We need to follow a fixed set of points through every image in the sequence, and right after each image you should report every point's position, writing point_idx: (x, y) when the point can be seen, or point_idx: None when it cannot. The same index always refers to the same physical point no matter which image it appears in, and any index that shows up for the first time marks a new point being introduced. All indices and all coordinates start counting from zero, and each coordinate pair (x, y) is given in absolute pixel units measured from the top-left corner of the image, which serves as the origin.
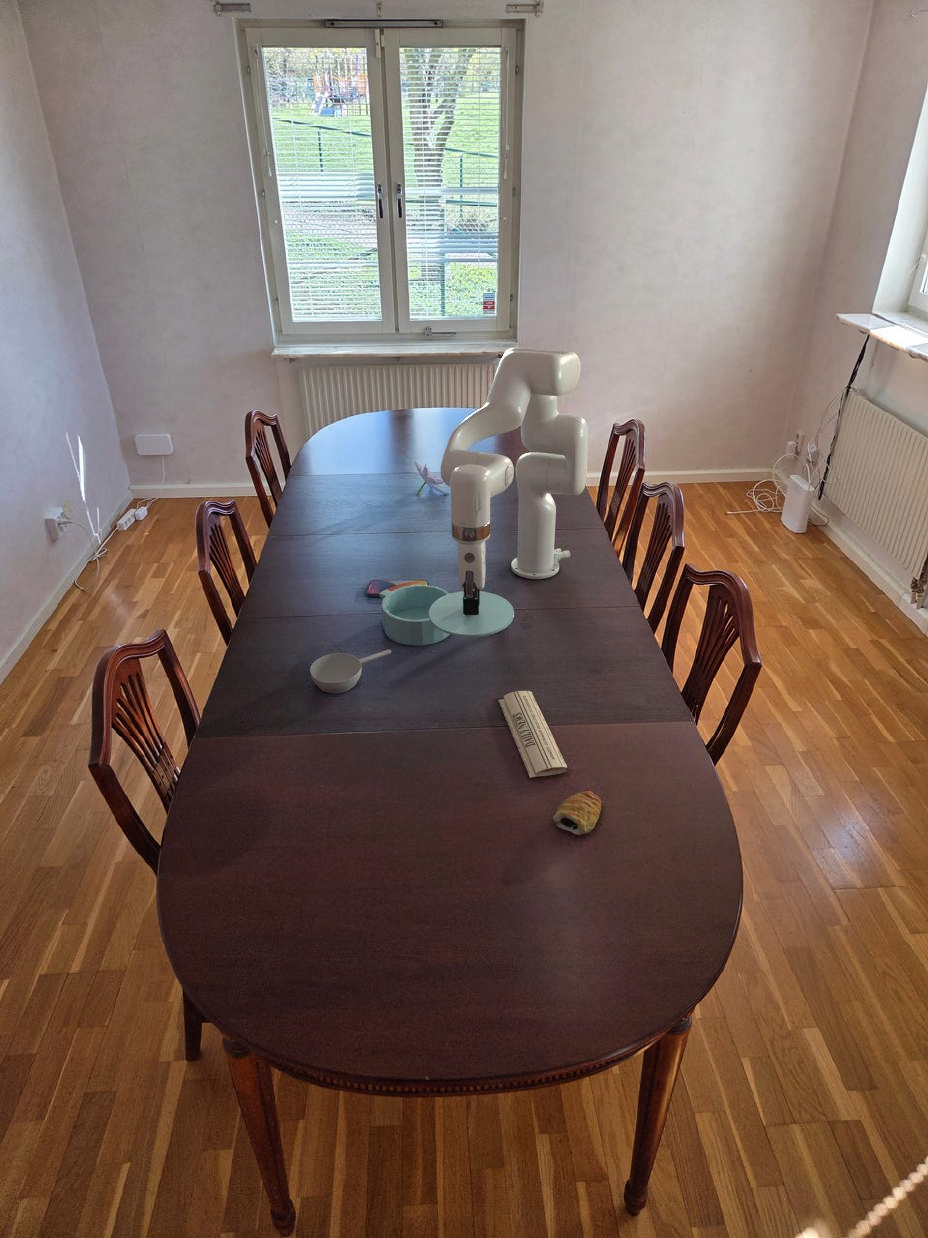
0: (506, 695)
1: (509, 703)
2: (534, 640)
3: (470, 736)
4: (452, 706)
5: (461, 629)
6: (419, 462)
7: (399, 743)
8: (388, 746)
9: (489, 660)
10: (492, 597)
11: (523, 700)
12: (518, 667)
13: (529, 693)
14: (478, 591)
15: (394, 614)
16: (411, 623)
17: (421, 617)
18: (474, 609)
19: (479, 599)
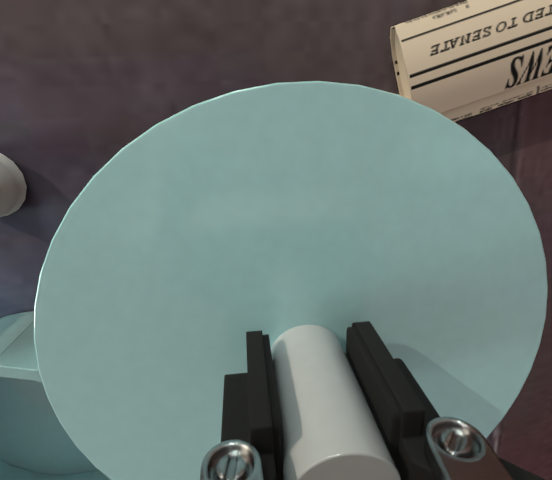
0: None
1: (453, 101)
2: (40, 22)
3: (544, 198)
4: None
5: (489, 374)
6: None
7: (542, 343)
8: (547, 360)
9: None
10: (103, 257)
11: (457, 52)
12: (230, 81)
13: (410, 32)
14: (278, 420)
15: (25, 470)
16: None
17: (15, 406)
18: (408, 370)
19: (264, 358)
